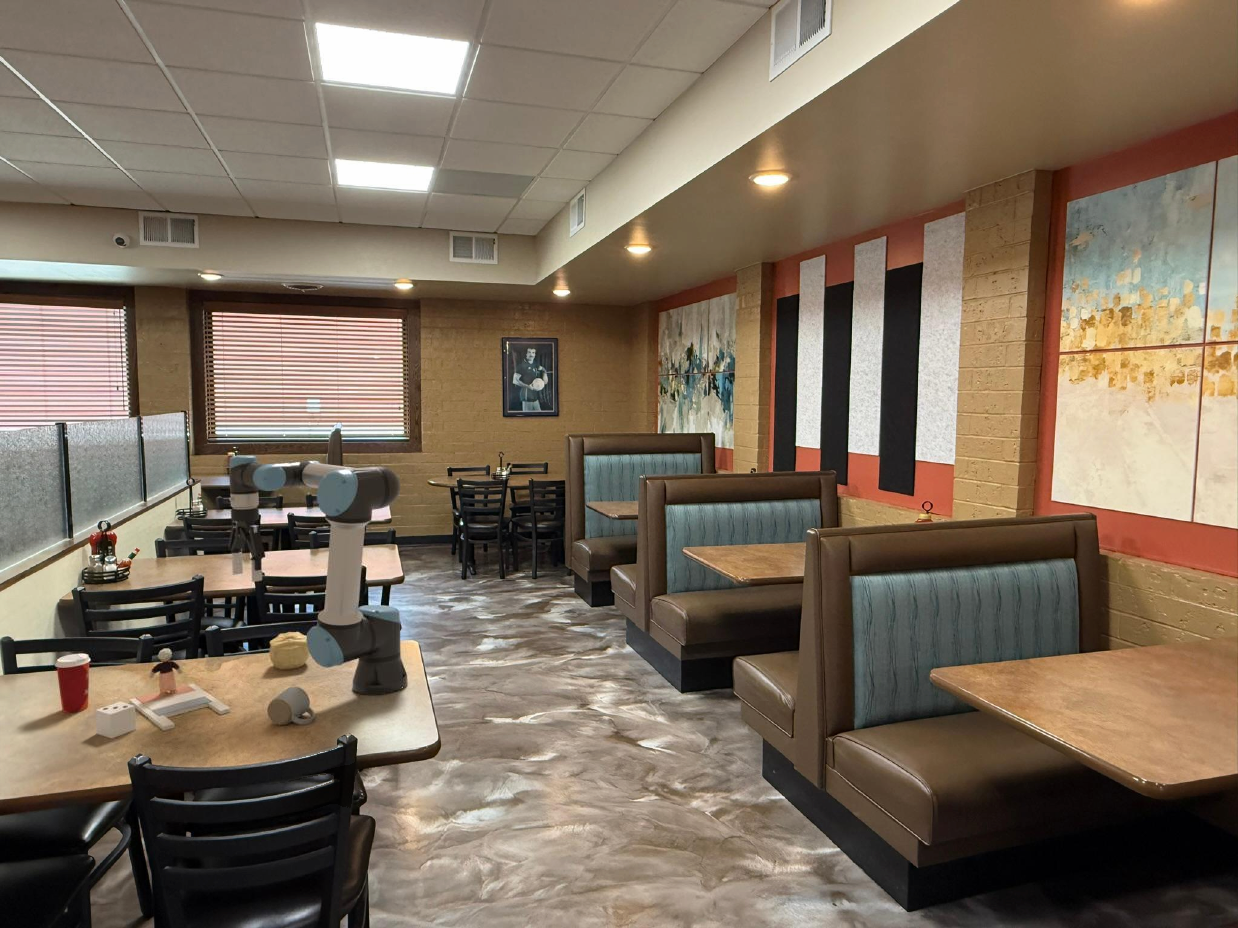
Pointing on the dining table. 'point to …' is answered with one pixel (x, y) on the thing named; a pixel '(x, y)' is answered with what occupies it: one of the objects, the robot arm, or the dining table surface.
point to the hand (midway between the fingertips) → (247, 577)
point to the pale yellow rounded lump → (289, 650)
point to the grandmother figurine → (166, 673)
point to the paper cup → (73, 682)
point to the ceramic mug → (290, 707)
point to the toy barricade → (175, 704)
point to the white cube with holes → (115, 719)
